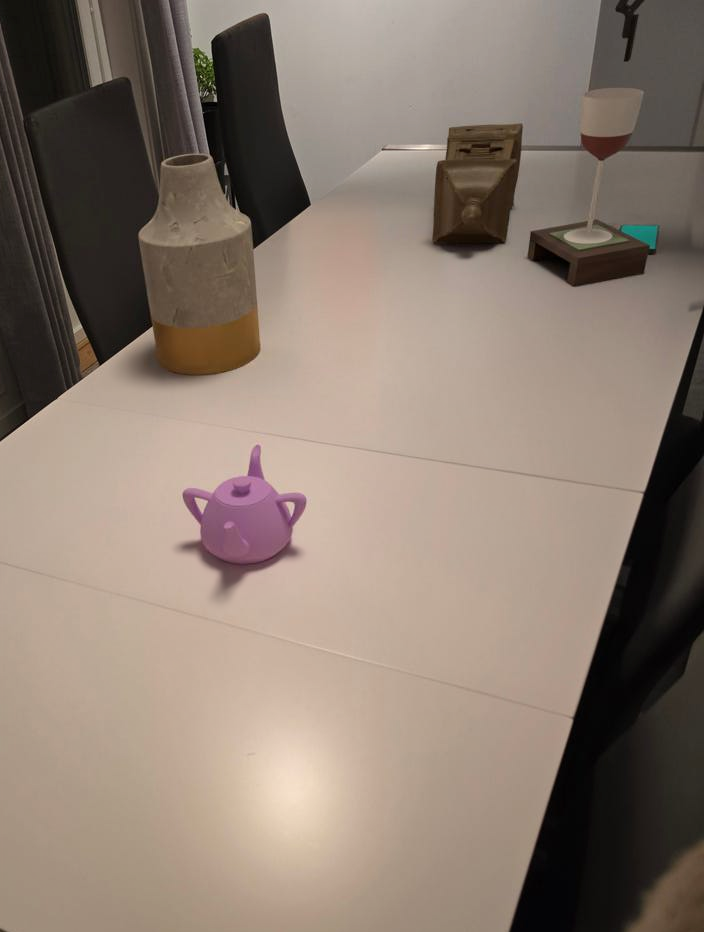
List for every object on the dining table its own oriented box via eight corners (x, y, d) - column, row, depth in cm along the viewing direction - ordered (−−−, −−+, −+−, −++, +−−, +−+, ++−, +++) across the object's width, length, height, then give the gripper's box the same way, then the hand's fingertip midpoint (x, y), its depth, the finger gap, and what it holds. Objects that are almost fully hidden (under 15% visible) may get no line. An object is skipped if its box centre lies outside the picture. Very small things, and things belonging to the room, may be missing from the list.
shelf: (643, 273, 155) (650, 243, 152) (573, 286, 154) (578, 257, 150) (591, 245, 168) (597, 218, 165) (526, 257, 167) (530, 229, 164)
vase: (163, 382, 141) (132, 183, 121) (153, 340, 155) (123, 156, 134) (269, 364, 142) (256, 164, 122) (250, 325, 156) (235, 139, 135)
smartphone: (659, 224, 171) (656, 249, 161) (658, 229, 171) (655, 253, 161) (620, 224, 173) (615, 248, 163) (619, 228, 174) (614, 252, 164)
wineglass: (587, 248, 153) (614, 101, 138) (550, 235, 160) (571, 94, 145) (626, 236, 156) (656, 91, 140) (588, 224, 163) (612, 85, 147)
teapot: (262, 502, 110) (258, 442, 104) (319, 553, 101) (317, 490, 95) (182, 532, 107) (172, 472, 101) (232, 588, 97) (225, 525, 91)
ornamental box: (502, 272, 170) (527, 172, 156) (415, 260, 173) (432, 161, 160) (511, 215, 193) (533, 124, 180) (434, 205, 197) (451, 116, 183)
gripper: (793, -112, 130) (750, 52, 144) (622, -94, 141) (597, 57, 155) (791, -110, 126) (747, 60, 140) (614, -91, 136) (589, 65, 150)
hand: (668, 59), depth 147 cm, fingers open, 13 cm apart
